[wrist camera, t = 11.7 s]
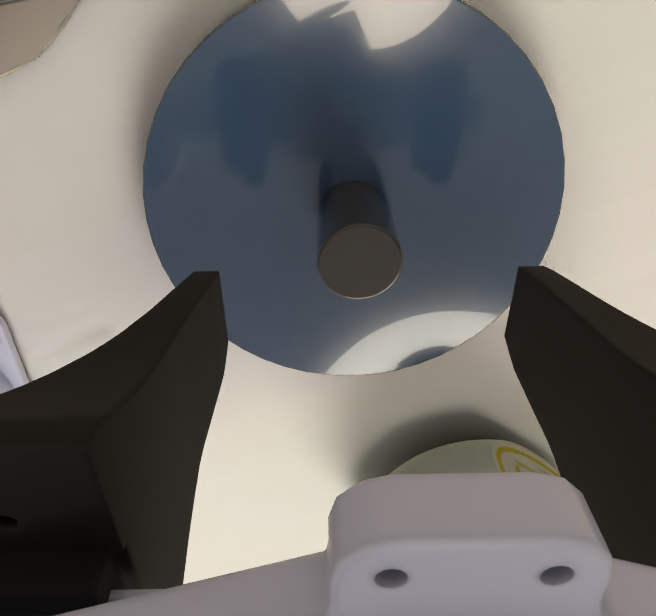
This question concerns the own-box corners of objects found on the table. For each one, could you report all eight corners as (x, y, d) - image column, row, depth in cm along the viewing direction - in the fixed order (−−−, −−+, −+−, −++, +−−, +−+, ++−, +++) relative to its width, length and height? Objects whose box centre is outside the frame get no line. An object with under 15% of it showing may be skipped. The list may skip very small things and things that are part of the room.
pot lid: (598, -29, 16) (684, -20, 12) (514, 355, 23) (552, 433, 19) (110, -24, 15) (47, -13, 12) (183, 361, 23) (158, 441, 19)
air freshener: (604, 488, 27) (730, 729, 19) (479, 567, 31) (540, 801, 23) (443, 384, 24) (513, 628, 15) (322, 488, 27) (324, 733, 19)
